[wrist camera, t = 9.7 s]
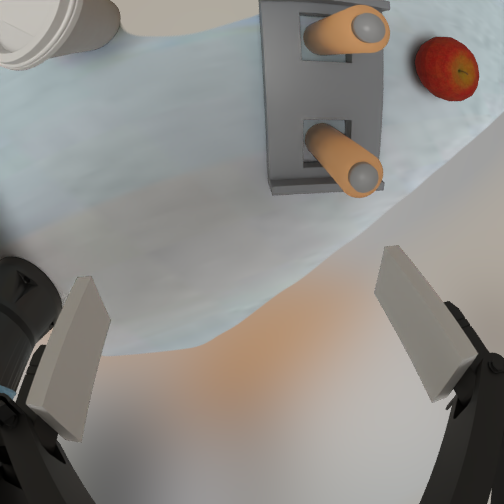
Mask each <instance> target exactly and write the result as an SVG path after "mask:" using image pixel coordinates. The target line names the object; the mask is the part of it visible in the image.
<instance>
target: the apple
mask: <svg viewBox="0 0 504 504" xmlns="http://www.w3.org/2000/svg"><path fill="white" fill-rule="evenodd" d="M415 66H416V71H417V74H418V76H419V78H420V81H421V83H422V84H423V85H424V86H425V87H426V88H427V89H428V90H429V91H430V92H431V93H432V94H433V95H435V96H436V97H439V98H442V99H444V100H447V101H462V100H465V99H467V98H468V97H470V96H472V95H473V93H474V92H475V90H476V88H477V86H478V81H479V70H478V64H477V62H476V59H475V57H474V55H473V54H472V52H471V51H470V50H469V49H468V48H467V47H466V46H465V45H464V44H462V43H460V42H459V41H457V40H455V39H453V38H451V37H435V38H432V39H430V40H429V41H427V42H426V43H424V44H422V45H421V47H420V49H419V51H418V53H417V54H416V59H415Z"/></svg>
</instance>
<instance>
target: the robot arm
mask: <svg viewBox="0 0 504 504" xmlns="http://www.w3.org/2000/svg"><path fill="white" fill-rule="evenodd" d="M374 294H375V295H376V297H377V299H378V301H379V302H380V304H381V306H382V308H383V309H384V311H385V313H386V315H387V316H388V318H389V320H390V322H391V324H392V326H393V327H394V329H395V331H396V333H397V335H398V336H399V338H400V340H401V342H402V344H403V346H404V348H405V349H406V352H407V353H408V355H409V357H410V359H411V361H412V363H413V365H414V367H415V369H416V371H417V373H418V375H419V377H420V379H421V381H422V383H423V385H424V387H425V389H426V391H427V393H428V396H429V398H430V400H431V402H432V403H433V402H436V401H438V400H441V399H443V398H446V397H447V396H448V395H449V394H450V393H451V391H452V390H453V389H454V391H455V392H456V395H455V397H454V398H453V399H452V400H451V401H450V403H449V404H448V405H447V407H446V410H448V409H449V408H450V407H451V406H452V408H451V412H450V416H449V420H448V424H447V428H446V431H445V435H444V438H443V441H442V444H441V448H440V451H439V454H438V457H437V460H436V463H435V465H434V468H433V471H432V474H431V476H430V479H429V482H428V484H427V487H426V489H425V492H424V494H423V496H422V499H421V501H420V503H419V504H487V502H488V499H489V495H490V492H491V488H492V493H491V494H492V495H491V504H504V358H503V357H502V356H501V355H499V354H497V353H489V351H488V350H487V349H486V347H485V346H484V344H483V343H482V341H481V340H480V338H479V337H478V335H477V334H476V332H475V331H474V329H473V328H472V327H471V326H470V324H469V322H468V321H467V319H465V317H464V315H463V314H462V312H461V311H460V310H459V308H457V307H456V306H455V305H453V304H452V303H451V302H450V301H447V302H443V301H442V300H441V299H440V297H439V296H438V295H437V293H436V292H435V291H434V289H433V288H432V287H431V285H430V284H429V283H428V281H427V280H426V279H425V277H424V276H423V275H422V274H421V272H420V271H419V270H418V268H416V266H415V265H414V263H413V262H412V261H411V260H410V259H409V257H408V256H407V255H406V254H405V252H404V251H403V250H402V249H401V248H400V246H399V245H396V246H387V247H384V252H383V257H382V261H381V266H380V270H379V275H378V279H377V283H376V287H375V291H374ZM61 309H62V311H61ZM110 322H111V319H110V317H109V315H108V313H107V311H106V309H105V306H104V304H103V302H102V300H101V297H100V295H99V293H98V290H97V288H96V286H95V283H94V281H93V278H92V276H88V277H77V279H76V281H75V283H74V285H73V287H72V289H71V291H70V294H69V296H68V298H67V300H66V302H65V304H64V306H63V308H62V306H61V300H60V297H59V294H58V292H57V290H56V288H55V287H54V285H53V284H52V282H51V281H50V280H49V279H48V278H47V276H46V275H45V274H44V273H43V272H42V271H40V270H39V269H38V268H37V267H35V266H34V265H32V264H31V263H29V262H27V261H25V260H23V259H20V258H16V257H6V258H3V259H1V260H0V504H95V502H94V501H93V499H92V498H91V496H90V495H89V493H88V491H87V490H86V488H85V487H84V485H83V484H82V482H81V480H80V479H79V477H78V476H77V474H76V472H75V470H74V469H73V467H72V465H71V463H70V462H69V460H68V458H67V456H66V454H65V452H64V450H63V449H62V447H61V445H60V443H59V442H58V441H57V436H58V434H59V435H60V436H62V437H63V438H64V439H65V440H68V441H75V442H81V443H82V438H83V432H84V427H85V422H86V417H87V412H88V407H89V402H90V398H91V394H92V389H93V384H94V381H95V376H96V372H97V368H98V364H99V361H100V357H101V353H102V349H103V346H104V342H105V339H106V335H107V332H108V328H109V325H110ZM53 327H54V328H53ZM52 328H53V331H52V334H51V336H50V338H49V340H48V343H47V345H40V347H39V348H38V349H37V350H36V352H35V353H34V354H33V357H32V359H31V361H30V366H29V367H28V369H27V372H26V375H25V377H24V380H23V383H22V386H21V388H20V391H19V394H18V397H17V400H16V403H15V402H14V401H13V398H14V396H15V395H16V390H17V387H18V385H19V382H20V380H21V377H22V374H23V372H24V370H25V367H26V365H27V362H28V360H29V358H30V355H31V353H32V350H33V348H34V346H35V344H36V343H37V342H38V341H39V340H40V339H41V338H42V337H43V336H44V335H45V334H46V333H47V332H48V331H49V330H51V329H52Z"/></svg>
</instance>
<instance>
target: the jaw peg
mask: <svg viewBox="0 0 504 504" xmlns="http://www.w3.org/2000/svg"><path fill="white" fill-rule="evenodd" d="M305 144H306V147H307V149H308V150H309V151H310V152H311V153H312V155H313V156H314V157H315V158H316V159H317V160H318V161H319V163H320V164H321V165H322V166H323V167H324V168H325V169H326V171H327V172H328V173H329V174H330V175H331V177H332V178H333V179H334V180H335V181H336V183H337V184H338V185H339V186H340V187H341V189H342V190H343V191H344V192H345V193H346V194H347V195H349V196H351V197H355V198H362V197H366V196H368V195H370V194H372V193H373V192H374V191H375V190H376V189H377V188H378V187H379V185H380V183H381V181H382V177H383V168H382V165H381V163H380V161H379V159H378V158H377V157H376V156H374V155H373V154H371V153H370V152H369V151H367V150H366V149H364V148H363V147H362V146H360V145H359V144H357V143H356V142H354V141H353V140H352V139H350V138H349V137H347V136H346V135H344V134H343V133H341V132H340V131H338V130H337V129H335V128H333V127H332V126H330V125H328V124H325V123H319V124H316V125H314V126H312V127H311V128H310V129H309V130H308V132H307V133H306V137H305Z"/></svg>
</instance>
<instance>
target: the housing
mask: <svg viewBox="0 0 504 504" xmlns="http://www.w3.org/2000/svg"><path fill="white" fill-rule="evenodd" d="M387 10H390V2H389V1H385V0H259V14H260V29H261V45H262V62H263V80H264V99H265V120H266V141H267V165H268V183H269V186H270V189H271V192H272V196H274V195H289V194H306V193H325V192H344V191H343V190H342V189H341V187H340V186H339V185H338V184H337V183H336V181H335V180H334V179H333V178H332V177H331V175H330V174H329V173H328V172H327V171H326V169H325V168H324V167H323V166H322V165H321V164H320V163H319V162H303V120H345V135H346V136H347V137H349V138H350V139H352V140H353V141H354V142H356V143H357V144H359V145H360V146H362V147H363V148H364V149H366V150H367V151H369V152H370V153H371V154H373V155H374V156H376V157H377V158H378V159H379V154H380V142H381V128H382V108H383V48H384V47H385V46H386V45H387V43H388V41H389V37H390V29H389V25H388V23H387V21H386V19H385V18H384V16H383V15H382V12H383V11H387ZM299 15H304V16H320V17H326V18H324V19H322V20H319V21H317V22H315V23H313V24H311V25H309V26H308V27H307V28H306V29H305V31H304V35H303V40H304V43H305V45H306V47H307V48H308V49H309V50H310V51H311V52H313V53H315V54H317V55H336V54H346V63H342V62H326V61H302V59H301V37H300V19H299ZM380 190H384V182H383V181H381V183H380V185H379V187H378V188H377V189H376V190H375V191H380Z"/></svg>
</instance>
